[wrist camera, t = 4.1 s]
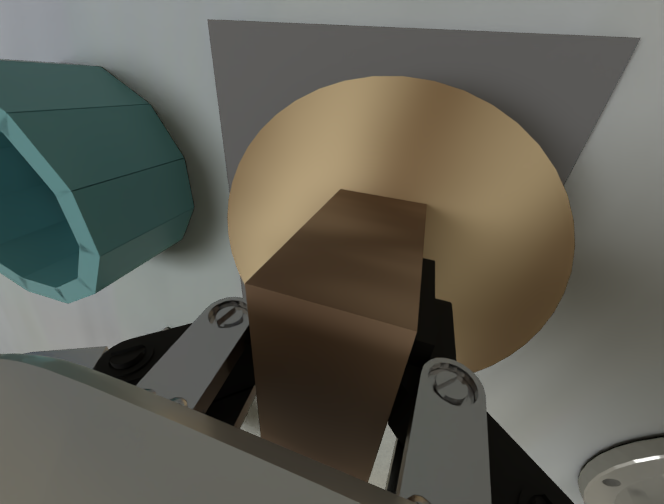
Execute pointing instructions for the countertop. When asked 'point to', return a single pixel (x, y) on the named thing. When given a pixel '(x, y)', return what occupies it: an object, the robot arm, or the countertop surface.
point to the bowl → (83, 179)
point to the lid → (386, 250)
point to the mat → (418, 75)
